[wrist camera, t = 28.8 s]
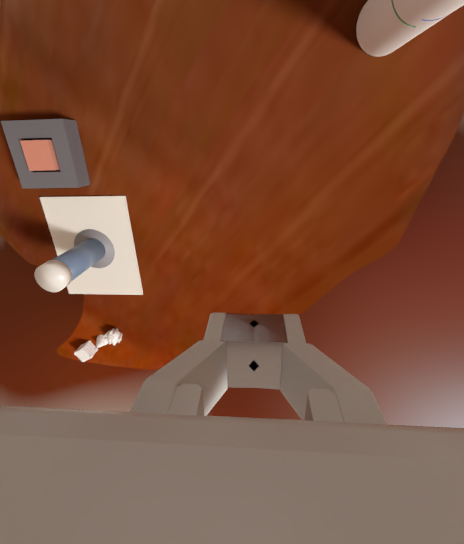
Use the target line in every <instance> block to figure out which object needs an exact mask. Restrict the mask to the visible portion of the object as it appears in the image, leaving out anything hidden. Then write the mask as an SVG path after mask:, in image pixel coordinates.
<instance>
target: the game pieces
mask: <svg viewBox="0 0 464 544" xmlns="http://www.w3.org/2000/svg"><path fill="white" fill-rule="evenodd" d="M121 339H122V333H120V331H118V328H116V329H115V330H114V328H113V329H112V330H110V331H108V332H107V333H106V334H105V335H99V336H98V337H97V343H96V346H95V345H94V344H93V343H91V341H87V342H86V343H84V344H81V345H80V347H79V348H78V349H77V350H76V351H75V352H74V355H77V357H79V359H80V360H81V362H85V361H86V360H88V359H91V358H92V357H93V355H94V354H95V353H96V351H98V348H99V347H102V346H104V345H107V344H108V343H109V342H110V343H109V344H111V343H113V345H115V344H116V343H117V342H118V343H120V341H121ZM95 347H96V348H95Z"/></svg>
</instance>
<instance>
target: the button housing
mask: <svg viewBox="0 0 464 544" xmlns="http://www.w3.org/2000/svg"><path fill="white" fill-rule="evenodd" d="M1 124H2V127H3V130H4V133H5V136H6V140H7V143H8V146H9V149H10V152H11V155H12V158H13V161H14V164H15V167H16V170H17V173H18V176H19V179H20V182H21V185H22V188H78V187H83V186H87V185H91V184H90V180H89V176H88V171H87V167H86V163H85V158H84V154H83V149H82V145H81V141H80V136H79V132H78V127H77V123H76V120H69V119H40V120H13V121H1ZM23 140H52V141H53V145H54V149H55V152H56V156H57V160H58V164H59V167H60V170H46V171H29V168H28V165H27V162H26V159H25V155H24V152H23V149H22V146H21V142H20V141H23Z"/></svg>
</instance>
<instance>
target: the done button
mask: <svg viewBox="0 0 464 544" xmlns="http://www.w3.org/2000/svg"><path fill="white" fill-rule="evenodd" d="M20 142H21V146H22V149H23V152H24V155H25V159H26V162H27V165H28V168H29V171H46V170H60V167H59V164H58V160H57V156H56V152H55V149H54V145H53V141H52V140H23V141H20Z"/></svg>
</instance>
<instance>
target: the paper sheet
mask: <svg viewBox="0 0 464 544" xmlns="http://www.w3.org/2000/svg"><path fill="white" fill-rule="evenodd" d="M40 200H41V204H42V207H43V210H44V213H45V217H46V220H47V223H48V226H49V230H50V233H51V236H52V239H53V243H54V246H55V249H56V252H57V256H59V255H61V254H63V253H64V252H66V251H68V250H70V249H71V248H73V247H75V246H76V245H78V244H80V243H82V242H83V241H85V240H87V239H89V238H94V239H97V240H99V241H100V242H101V243H102V244H103V245H104V247H105V255H104V257H103V258H102V259H100V260H99V261H98V262H96V263H95V264H94V265H92V266H91V267H90V268H88V269H87V270H86V271H84V272H83V273H82V274H81V275H79V276H78V277H77V278H75V279H74V280H73V281H71V283H70V284H68V285H67V288H68V291H69V294H122V295H143V290H142V284H141V279H140V273H139V268H138V262H137V257H136V251H135V246H134V240H133V235H132V229H131V224H130V218H129V213H128V207H127V201H126V196H71V197H40Z"/></svg>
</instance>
